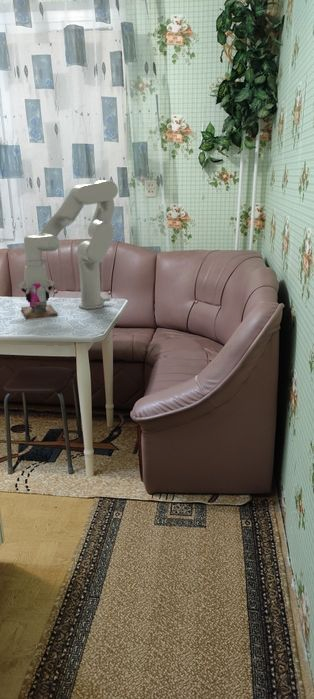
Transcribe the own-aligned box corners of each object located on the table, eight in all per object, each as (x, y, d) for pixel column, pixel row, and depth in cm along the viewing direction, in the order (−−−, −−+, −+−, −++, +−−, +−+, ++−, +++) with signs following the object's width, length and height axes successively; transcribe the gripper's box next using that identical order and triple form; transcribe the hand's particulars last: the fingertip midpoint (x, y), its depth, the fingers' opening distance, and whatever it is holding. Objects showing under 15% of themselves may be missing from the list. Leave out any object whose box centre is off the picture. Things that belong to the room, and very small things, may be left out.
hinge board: (50, 307, 251) (49, 294, 249) (57, 316, 235) (56, 302, 233) (21, 310, 246) (20, 297, 244) (26, 319, 230) (25, 305, 228)
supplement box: (39, 304, 243) (37, 281, 239) (47, 306, 240) (45, 282, 236) (29, 307, 239) (27, 283, 235) (37, 309, 235) (35, 284, 232)
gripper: (52, 260, 239) (55, 297, 245) (14, 263, 233) (17, 301, 239) (55, 263, 232) (58, 301, 238) (16, 265, 226) (19, 304, 232)
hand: (37, 300), depth 238 cm, fingers closed on supplement box, 7 cm apart
